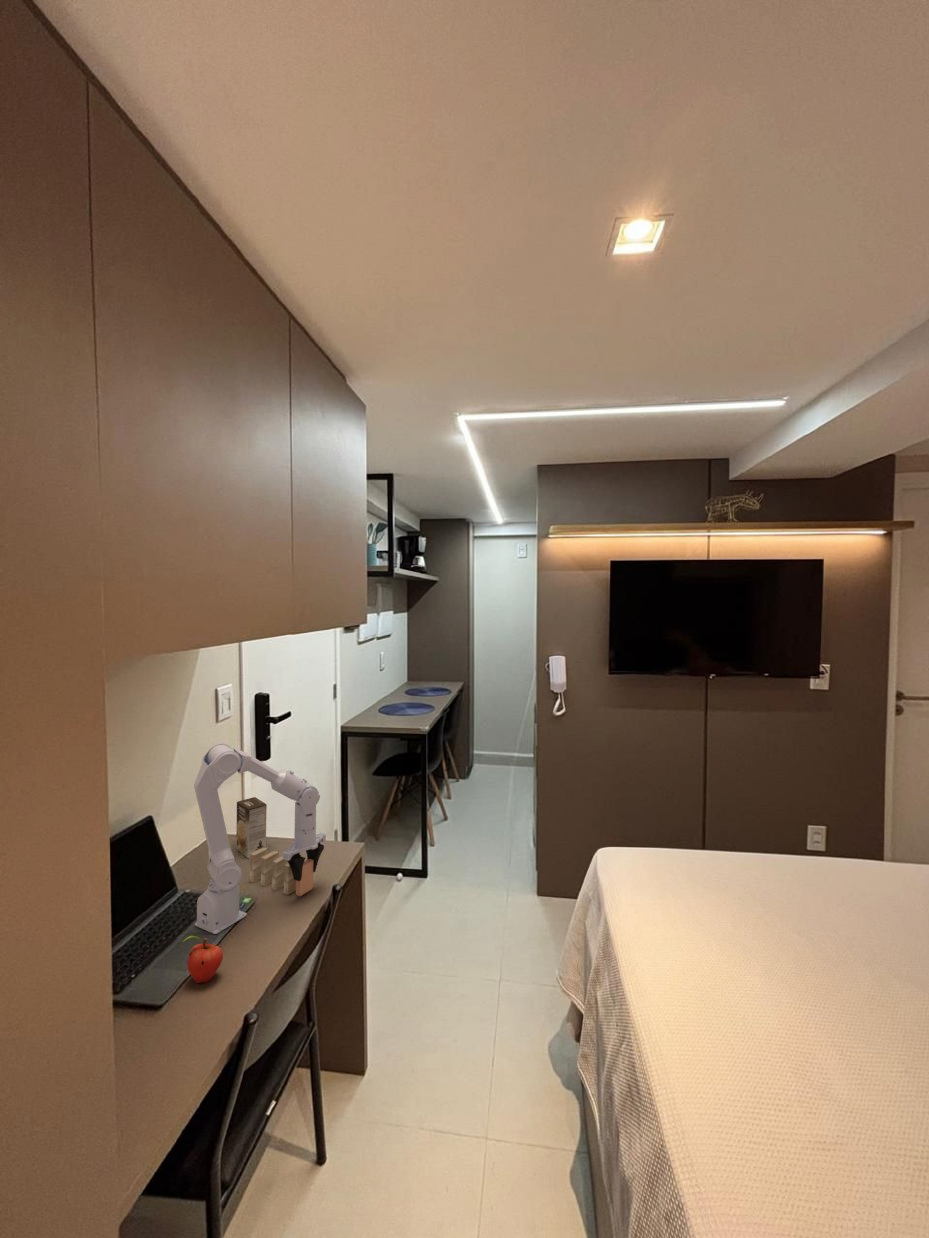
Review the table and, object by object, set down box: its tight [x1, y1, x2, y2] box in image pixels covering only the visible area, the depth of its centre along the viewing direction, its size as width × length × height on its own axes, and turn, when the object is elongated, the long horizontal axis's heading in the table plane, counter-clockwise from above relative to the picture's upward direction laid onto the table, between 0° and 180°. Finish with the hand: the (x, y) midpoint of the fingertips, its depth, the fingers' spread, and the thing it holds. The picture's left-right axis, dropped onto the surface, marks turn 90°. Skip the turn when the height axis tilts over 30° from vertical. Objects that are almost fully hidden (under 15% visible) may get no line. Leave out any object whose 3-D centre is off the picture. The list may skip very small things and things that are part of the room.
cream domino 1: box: [249, 847, 269, 883], centre depth 157 cm, size 2×5×8 cm, turn 152°
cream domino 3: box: [271, 855, 288, 892], centre depth 153 cm, size 2×5×8 cm, turn 152°
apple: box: [181, 935, 224, 984], centre depth 114 cm, size 8×7×10 cm
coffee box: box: [235, 796, 268, 859], centre depth 175 cm, size 9×6×16 cm
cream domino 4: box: [283, 863, 296, 896], centre depth 151 cm, size 2×5×8 cm, turn 152°
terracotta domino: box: [295, 859, 314, 897], centre depth 149 cm, size 2×5×8 cm, turn 152°
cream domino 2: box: [260, 850, 280, 887], centre depth 155 cm, size 2×5×8 cm, turn 152°
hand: (304, 875), depth 149 cm, fingers closed on terracotta domino, 5 cm apart
